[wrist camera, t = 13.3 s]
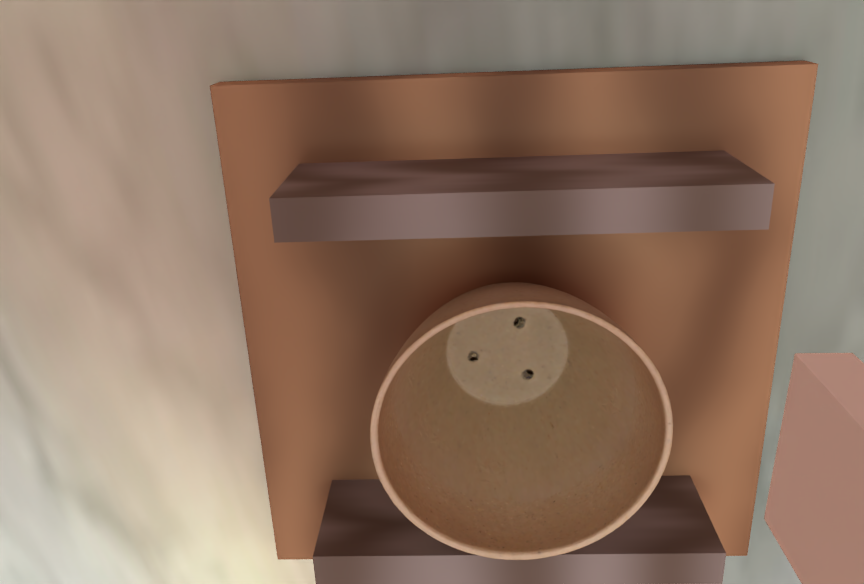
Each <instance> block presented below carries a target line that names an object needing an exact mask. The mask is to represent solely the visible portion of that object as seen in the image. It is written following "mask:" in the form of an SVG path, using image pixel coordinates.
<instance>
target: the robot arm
mask: <svg viewBox="0 0 864 584" xmlns="http://www.w3.org/2000/svg"><path fill="white" fill-rule="evenodd" d="M764 519H765V521H766V523H767V525H768V526H769V528H770V530H771V531H772V533H773V535H774V537H775V538H776V540H777V542H778V543H779V545H780V547H781V549H782V550H783V552H784V554H785V556H786V557H787V559H788V561H789V562H790V564H791V566H792V568H793V569H794V571H795V573H796V574H797V576H798V578H799V580H800V581H801V583H802V584H864V363H863V362H861V361H860V360H859V359H858V358H857V357H856V356H855V355H854V354H853V353H797V354H795V356H794V361H793V366H792V372H791V377H790V382H789V388H788V393H787V399H786V404H785V409H784V415H783V420H782V425H781V431H780V436H779V441H778V447H777V452H776V457H775V463H774V468H773V473H772V479H771V484H770V489H769V495H768V500H767V505H766V511H765V516H764Z"/></svg>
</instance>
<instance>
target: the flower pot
mask: <svg viewBox="0 0 864 584" xmlns="http://www.w3.org/2000/svg"><path fill="white" fill-rule="evenodd" d="M516 318H518V320H519V321H518V323H516V324H514V322H515V320H516ZM472 357H476V358H477V360H474V361H472V360H470V358H472ZM527 370H531V371H532V372H533V374H531V373H528V372H527ZM672 438H673V417H672V410H671V403H670V399H669V396H668V393H667V390H666V387H665V385H664V382H663V380H662V378H661V376H660V374H659V372H658V370H657V368H656V367H655V365H654V364H653V362H652V361H651V360H650V358H649V357H648V356H647V355H646V353H645V352H644V351H643V350H642V349H641V347H640V346H639V345H638V344H637V343H636V342H635V341H634V339H633V338H632V337H631V336H629V335H628V334H627V333H626V332H625V331H624V330H623V329H622V328H621V327H620V326H619V325H618V324H617V323H615V322H614V321H613V320H612V319H610V318H609V317H608V316H606V315H605V314H604V313H602V312H601V311H599V310H598V309H596V308H595V307H593V306H591V305H590V304H588V303H586V302H585V301H583V300H581V299H579V298H577V297H575V296H572V295H570V294H568V293H565V292H563V291H560V290H557V289H554V288H550V287H547V286H542V285H538V284H531V283H521V282H509V283H497V284H492V285H487V286H483V287H480V288H477V289H474V290H471V291H468V292H466V293H464V294H462V295H460V296H458V297H456V298H454V299H452V300H451V301H449V302H448V303H446V304H444V305H443V306H442V307H440V308H439V309H438V310H436V311H435V312H434V313H433V314H431V315H430V316H429V317H428V318H427V319H426V320H425V321H424V322H423V323H422V324H421V325H420V326H419V327H418V328H417V329H416V330H415V331H414V332H413V334H412V335H411V336H410V337H409V338H408V340H407V341H406V342H405V344H404V345H403V346H402V348H401V349H400V351H399V352H398V354H397V355H396V357H395V358H394V360H393V362H392V364H391V365H390V367H389V369H388V371H387V373H386V375H385V377H384V379H383V382H382V384H381V386H380V389H379V392H378V394H377V397H376V400H375V404H374V407H373V412H372V416H371V426H370V444H371V451H372V457H373V462H374V465H375V469H376V472H377V475H378V477H379V479H380V482H381V483H382V485H383V487H384V489H385V491H386V492H387V494H388V495H389V497H390V498H391V500H392V502H393V503H394V504H395V506H396V507H397V508H398V509H399V510H400V511H401V512H402V513H403V514H404V515H405V517H406V518H407V519H409V520H410V521H411V522H412V523H413V524H414V525H415V526H417V527H418V528H420V529H421V530H422V531H424V532H425V533H427V534H428V535H430V536H431V537H433V538H435V539H436V540H438V541H440V542H442V543H444V544H446V545H448V546H451V547H453V548H456V549H458V550H461V551H464V552H467V553H471V554H475V555H479V556H483V557H488V558H494V559H505V560H530V559H540V558H545V557H551V556H556V555H560V554H564V553H568V552H571V551H574V550H577V549H580V548H582V547H584V546H587V545H589V544H591V543H594V542H596V541H598V540H600V539H601V538H603V537H605V536H606V535H608V534H610V533H611V532H613V531H614V530H615V529H617V528H618V527H620V526H621V525H622V524H623V523H624V522H626V521H627V520H628V519H629V518H630V517H631V516H632V515H634V514H635V513H636V511H638V510H639V509H640V507H641V506H642V505H643V504H644V503H645V502H646V500H647V499H648V497H649V496H650V495H651V493H652V492H653V491H654V489H655V487H656V486H657V484H658V482H659V480H660V478H661V476H662V474H663V472H664V470H665V468H666V465H667V462H668V459H669V455H670V451H671V446H672Z"/></svg>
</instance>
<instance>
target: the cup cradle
mask: <svg viewBox="0 0 864 584" xmlns="http://www.w3.org/2000/svg"><path fill="white" fill-rule="evenodd" d="M817 68H818V64H816V63H812V62H808V61H780V62H752V63H725V64H697V65H670V66H642V67H615V68H587V69H560V70H532V71H505V72H477V73H450V74H422V75H395V76H367V77H340V78H312V79H285V80H257V81H230V82H218V83H216V84H213V85H211V86H210V90H211V97H212V104H213V111H214V118H215V125H216V132H217V139H218V146H219V152H220V159H221V166H222V173H223V180H224V187H225V194H226V201H227V208H228V215H229V222H230V229H231V236H232V243H233V250H234V257H235V264H236V271H237V278H238V285H239V292H240V299H241V306H242V313H243V320H244V327H245V334H246V340H247V347H248V354H249V361H250V368H251V375H252V382H253V389H254V396H255V403H256V410H257V417H258V424H259V431H260V438H261V445H262V452H263V459H264V466H265V473H266V480H267V487H268V494H269V501H270V508H271V515H272V521H273V528H274V535H275V542H276V549H277V556H278V559H313V563H314V571H315V579H316V584H722V581H723V573H724V565H725V558H726V556H746V555H747V553H748V546H749V539H750V532H751V525H752V518H753V511H754V504H755V497H756V490H757V483H758V477H759V470H760V463H761V456H762V449H763V442H764V435H765V428H766V421H767V414H768V407H769V400H770V394H771V387H772V380H773V373H774V366H775V359H776V352H777V345H778V338H779V331H780V324H781V317H782V311H783V304H784V297H785V290H786V283H787V276H788V269H789V262H790V255H791V248H792V241H793V234H794V228H795V221H796V214H797V207H798V200H799V193H800V186H801V179H802V172H803V165H804V158H805V151H806V145H807V138H808V131H809V124H810V117H811V110H812V103H813V96H814V89H815V82H816V75H817ZM509 282H521V283H531V284H538V285H542V286H547V287H550V288H554V289H557V290H560V291H563V292H565V293H568V294H570V295H572V296H575V297H577V298H579V299H581V300H583V301H585V302H586V303H588V304H590V305H591V306H593V307H595V308H596V309H598V310H599V311H601V312H602V313H604V314H605V315H606V316H608V317H609V318H610V319H612V320H613V321H614V322H615V323H617V324H618V325H619V326H620V327H621V328H622V329H623V330H624V331H625V332H626V333H627V334H628V335H629V336H631V337H632V338H633V339H634V341H635V342H636V343H637V344H638V345H639V346H640V347H641V349H642V350H643V351H644V352H645V353H646V355H647V356H648V357H649V358H650V360H651V361H652V362H653V364H654V365H655V367H656V368H657V370H658V372H659V374H660V376H661V378H662V380H663V382H664V385H665V387H666V390H667V393H668V396H669V399H670V403H671V410H672V417H673V438H672V446H671V451H670V455H669V459H668V462H667V465H666V468H665V470H664V472H663V474H662V476H661V478H660V480H659V482H658V484H657V486H656V487H655V489H654V491H653V492H652V493H651V495H650V496H649V497H648V499H647V500H646V502H645V503H644V504H643V505H642V506H641V507H640V509H639V510H638V511H636V513H635V514H634V515H632V516H631V517H630V518H629V519H628V520H627V521H626V522H624V523H623V524H622V525H621V526H620V527H618V528H617V529H615V530H614V531H613V532H611V533H610V534H608V535H606V536H605V537H603V538H601V539H600V540H598V541H596V542H594V543H591V544H589V545H587V546H584V547H582V548H580V549H577V550H574V551H571V552H568V553H564V554H560V555H556V556H551V557H545V558H540V559H530V560H505V559H494V558H488V557H483V556H479V555H475V554H471V553H467V552H464V551H461V550H458V549H456V548H453V547H451V546H448V545H446V544H444V543H442V542H440V541H438V540H436V539H435V538H433V537H431V536H430V535H428V534H427V533H425V532H424V531H422V530H421V529H420V528H418V527H417V526H415V525H414V524H413V523H412V522H411V521H410V520H409V519H407V518H406V517H405V515H404V514H403V513H402V512H401V511H400V510H399V509H398V508H397V507H396V506H395V504H394V503H393V502H392V500H391V498H390V497H389V495H388V494H387V492H386V491H385V489H384V487H383V485H382V483H381V482H380V479H379V477H378V475H377V472H376V469H375V465H374V462H373V457H372V451H371V444H370V426H371V416H372V412H373V407H374V404H375V400H376V397H377V394H378V392H379V389H380V386H381V384H382V382H383V379H384V377H385V375H386V373H387V371H388V369H389V367H390V365H391V364H392V362H393V360H394V358H395V357H396V355H397V354H398V352H399V351H400V349H401V348H402V346H403V345H404V344H405V342H406V341H407V340H408V338H409V337H410V336H411V335H412V334H413V332H414V331H415V330H416V329H417V328H418V327H419V326H420V325H421V324H422V323H423V322H424V321H425V320H426V319H427V318H428V317H429V316H430V315H431V314H433V313H434V312H435V311H436V310H438V309H439V308H440V307H442V306H443V305H444V304H446V303H448V302H449V301H451V300H452V299H454V298H456V297H458V296H460V295H462V294H464V293H466V292H468V291H471V290H474V289H477V288H480V287H483V286H487V285H492V284H497V283H509ZM518 321H519V320H518V318H516V320H515V322H514V324H516V323H518ZM470 360H472V361H474V360H477V358H476V357H472V358H470ZM527 372H528V373H531V374H533V372H532V371H531V370H527Z"/></svg>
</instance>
